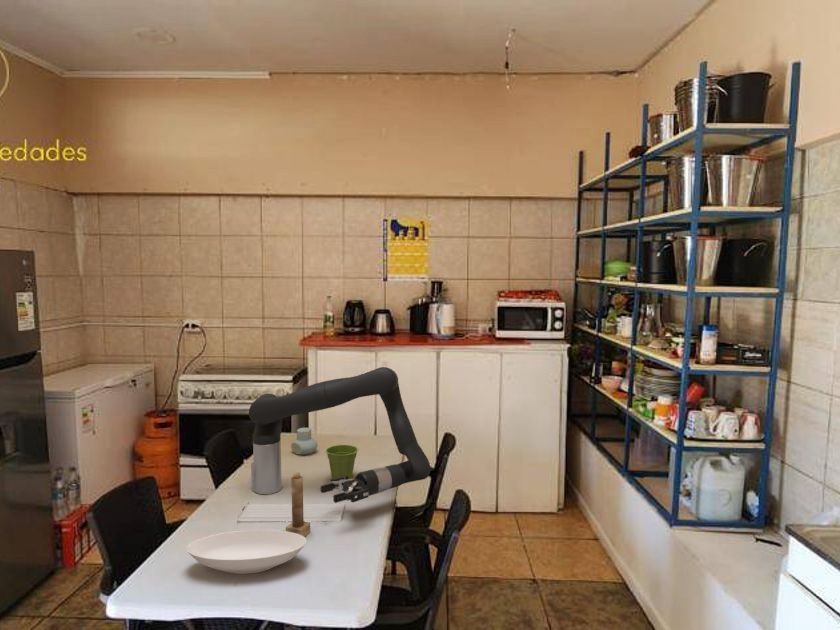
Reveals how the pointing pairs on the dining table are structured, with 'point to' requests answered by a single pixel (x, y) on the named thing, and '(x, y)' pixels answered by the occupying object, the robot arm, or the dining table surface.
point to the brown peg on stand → (298, 508)
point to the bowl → (246, 550)
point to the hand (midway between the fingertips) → (327, 494)
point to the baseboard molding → (285, 512)
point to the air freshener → (304, 442)
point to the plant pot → (341, 460)
